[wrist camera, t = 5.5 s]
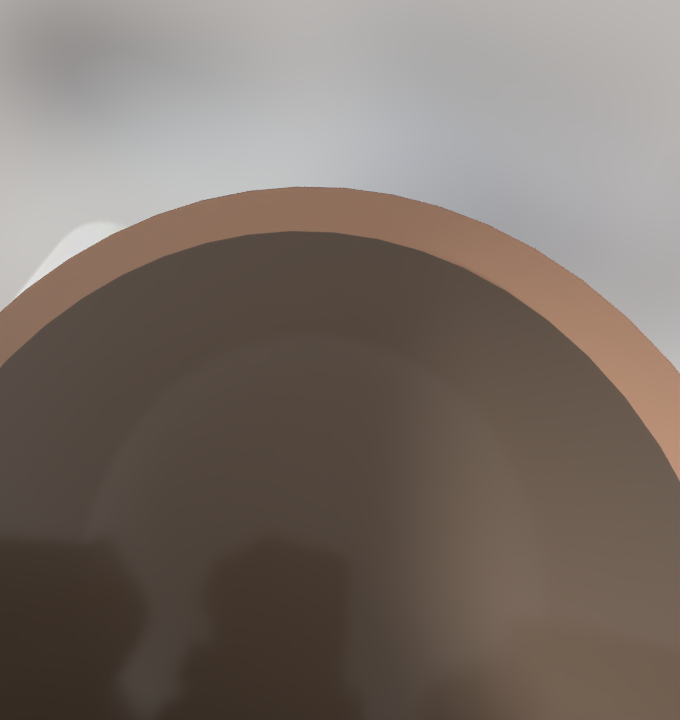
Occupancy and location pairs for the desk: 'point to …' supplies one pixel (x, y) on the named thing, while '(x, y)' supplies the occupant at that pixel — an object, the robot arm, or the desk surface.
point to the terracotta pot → (333, 476)
